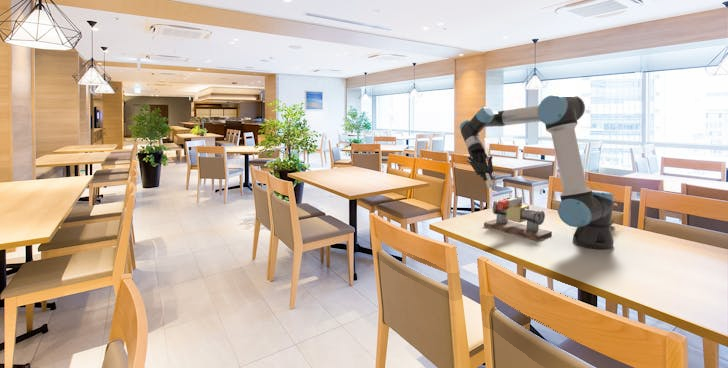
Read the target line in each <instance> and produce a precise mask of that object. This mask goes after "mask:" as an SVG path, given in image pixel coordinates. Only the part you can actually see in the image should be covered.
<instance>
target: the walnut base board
mask: <svg viewBox="0 0 728 368" xmlns="http://www.w3.org/2000/svg"><path fill="white" fill-rule="evenodd" d="M496 219H497V218H496ZM496 219H492V220H489V221H484V222H483V227H484V228H488V229H491V230H495V231H500V232H503V233H506V234H511V235H514V236H517V237H521V238H525V239H528V240H531V241H535V242H539V241H541V240H544V239H547V238H549V237H551V236H552V234H553V232H552V231H550V230H546V229H543V228H539V229H538V231H536V232H533V233H531V232H528V231H526V228H527V224H526V225H525V224H523V223H519V222H515V221H510V220H508V223H506V224H502V225H501V224H497V223H496Z"/></svg>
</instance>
